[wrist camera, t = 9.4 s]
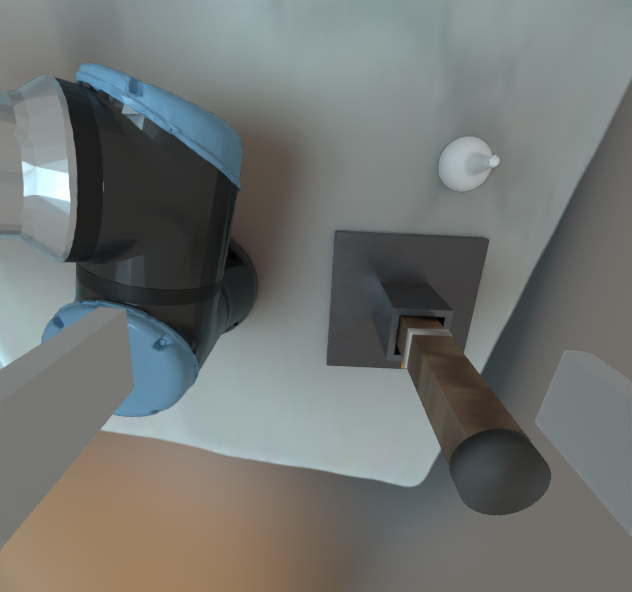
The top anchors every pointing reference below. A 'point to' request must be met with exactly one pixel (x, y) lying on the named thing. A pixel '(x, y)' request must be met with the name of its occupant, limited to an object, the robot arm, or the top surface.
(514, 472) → the post
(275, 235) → the top surface
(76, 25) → the top surface
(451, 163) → the garlic bulb
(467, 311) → the sleeve stand
